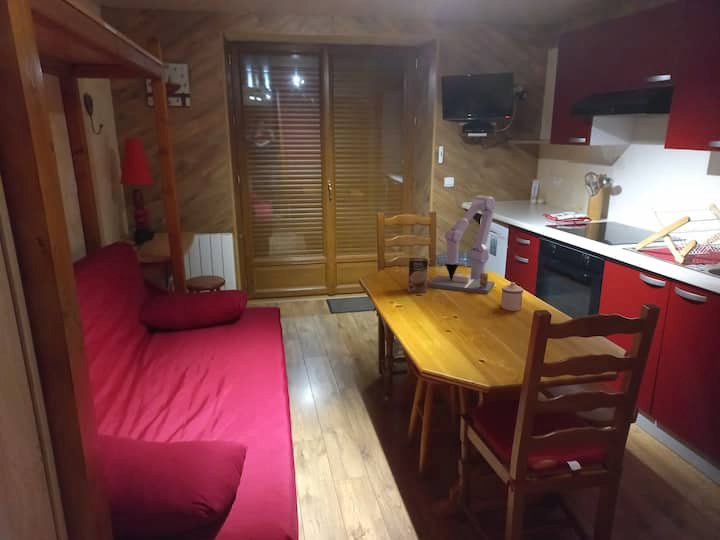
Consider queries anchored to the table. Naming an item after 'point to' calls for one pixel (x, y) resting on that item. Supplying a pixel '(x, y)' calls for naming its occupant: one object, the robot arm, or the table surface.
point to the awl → (483, 280)
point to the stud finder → (461, 278)
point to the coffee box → (417, 275)
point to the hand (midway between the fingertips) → (451, 278)
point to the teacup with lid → (511, 297)
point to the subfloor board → (460, 285)
